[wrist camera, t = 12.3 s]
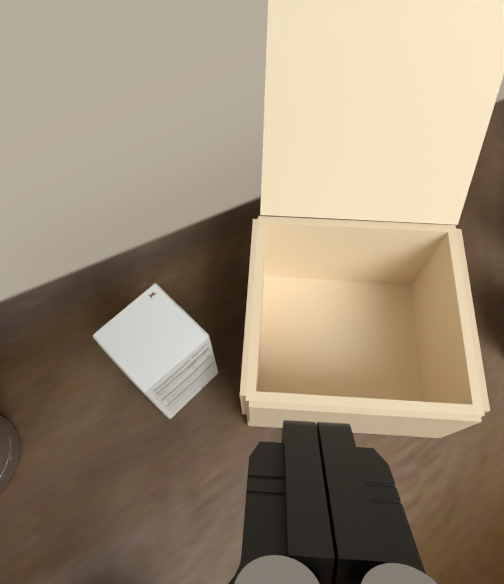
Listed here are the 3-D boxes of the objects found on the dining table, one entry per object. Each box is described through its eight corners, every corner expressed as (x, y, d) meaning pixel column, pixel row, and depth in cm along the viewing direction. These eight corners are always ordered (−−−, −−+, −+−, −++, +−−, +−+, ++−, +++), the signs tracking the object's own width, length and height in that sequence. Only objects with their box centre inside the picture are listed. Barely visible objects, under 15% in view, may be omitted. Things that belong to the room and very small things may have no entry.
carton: (242, 430, 47) (238, 406, 37) (253, 273, 55) (253, 215, 45) (437, 442, 47) (492, 422, 36) (420, 281, 55) (460, 225, 44)
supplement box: (126, 373, 50) (88, 333, 39) (177, 329, 52) (155, 278, 41) (169, 422, 48) (142, 395, 37) (221, 374, 50) (211, 333, 39)
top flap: (268, -12, 33) (269, -12, 34) (260, 215, 44) (260, 211, 44) (527, -4, 33) (523, -4, 33) (457, 224, 43) (455, 221, 44)
